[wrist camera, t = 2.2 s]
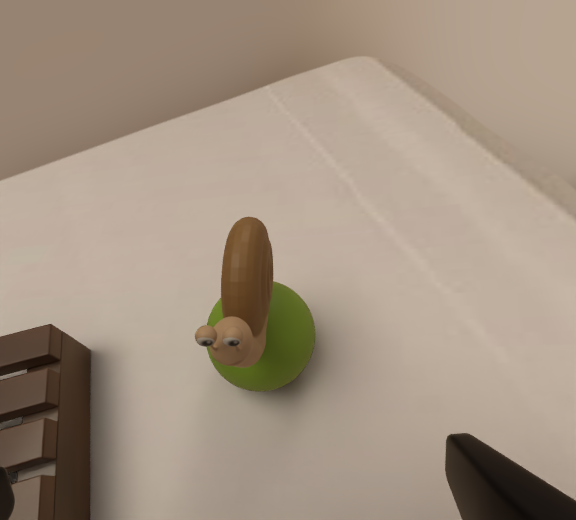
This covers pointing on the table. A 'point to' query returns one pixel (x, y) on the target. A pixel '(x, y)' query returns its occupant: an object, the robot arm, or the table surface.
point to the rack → (46, 423)
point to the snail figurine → (256, 317)
